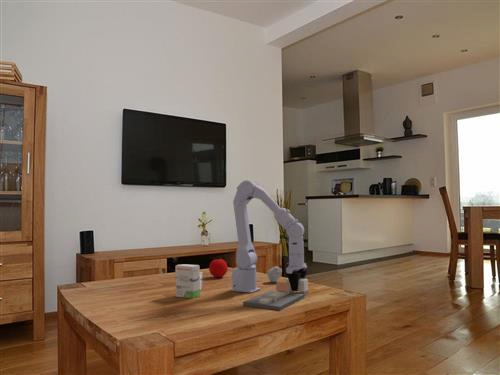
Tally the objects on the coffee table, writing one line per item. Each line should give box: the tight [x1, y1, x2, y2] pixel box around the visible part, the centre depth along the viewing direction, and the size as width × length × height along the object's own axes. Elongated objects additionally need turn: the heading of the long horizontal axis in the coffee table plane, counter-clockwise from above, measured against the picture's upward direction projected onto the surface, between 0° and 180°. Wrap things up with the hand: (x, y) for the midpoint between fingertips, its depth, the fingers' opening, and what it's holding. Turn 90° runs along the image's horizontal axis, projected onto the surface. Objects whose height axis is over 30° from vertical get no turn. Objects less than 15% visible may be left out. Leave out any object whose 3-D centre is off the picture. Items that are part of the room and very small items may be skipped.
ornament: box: [208, 256, 229, 278], centre depth 179 cm, size 9×9×10 cm
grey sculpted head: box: [266, 265, 283, 283], centre depth 165 cm, size 6×7×7 cm
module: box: [285, 277, 309, 296], centre depth 142 cm, size 8×4×6 cm, turn 59°
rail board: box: [242, 290, 305, 311], centre depth 130 cm, size 14×20×3 cm
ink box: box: [174, 263, 201, 299], centre depth 140 cm, size 9×5×12 cm, turn 59°
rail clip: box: [275, 281, 289, 292], centre depth 136 cm, size 4×2×3 cm, turn 59°
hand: (297, 289), depth 142 cm, fingers open, 4 cm apart
